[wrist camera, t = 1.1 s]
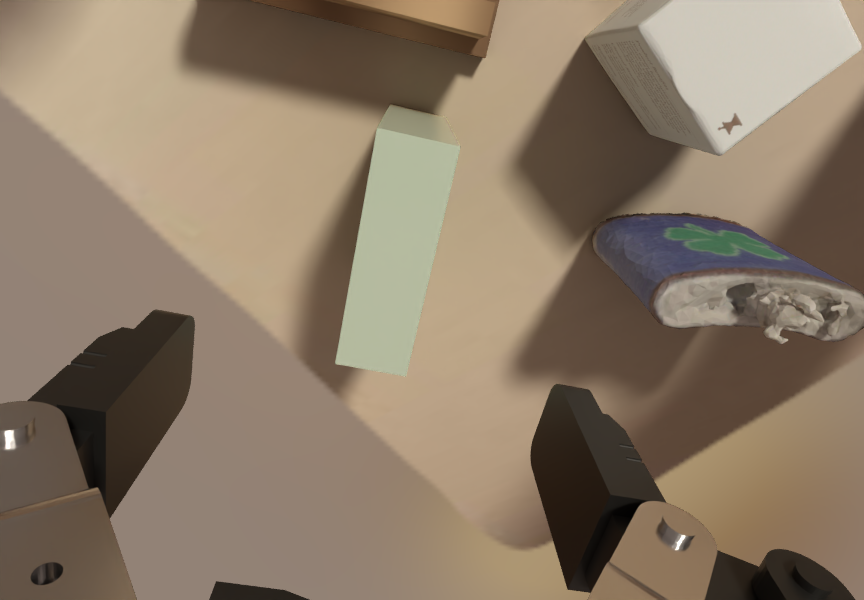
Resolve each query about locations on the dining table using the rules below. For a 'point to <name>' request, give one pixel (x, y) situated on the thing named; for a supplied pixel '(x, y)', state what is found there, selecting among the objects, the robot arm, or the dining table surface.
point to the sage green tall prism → (397, 239)
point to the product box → (719, 62)
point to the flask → (724, 277)
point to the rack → (410, 19)
